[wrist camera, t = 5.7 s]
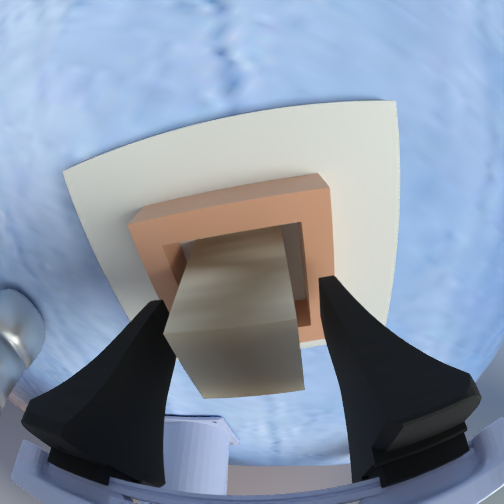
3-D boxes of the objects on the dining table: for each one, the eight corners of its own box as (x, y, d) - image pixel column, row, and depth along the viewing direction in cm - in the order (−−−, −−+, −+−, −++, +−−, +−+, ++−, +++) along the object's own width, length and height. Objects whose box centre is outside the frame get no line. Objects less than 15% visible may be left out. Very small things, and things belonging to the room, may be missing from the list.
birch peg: (217, 303, 15) (203, 398, 10) (195, 239, 13) (163, 333, 8) (290, 292, 15) (304, 389, 10) (280, 225, 13) (296, 318, 8)
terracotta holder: (193, 328, 16) (187, 354, 14) (143, 206, 12) (127, 224, 10) (327, 311, 15) (334, 336, 14) (318, 173, 11) (329, 187, 10)
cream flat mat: (158, 350, 19) (155, 360, 18) (72, 166, 12) (62, 171, 11) (379, 321, 17) (384, 332, 16) (386, 100, 10) (395, 101, 9)
